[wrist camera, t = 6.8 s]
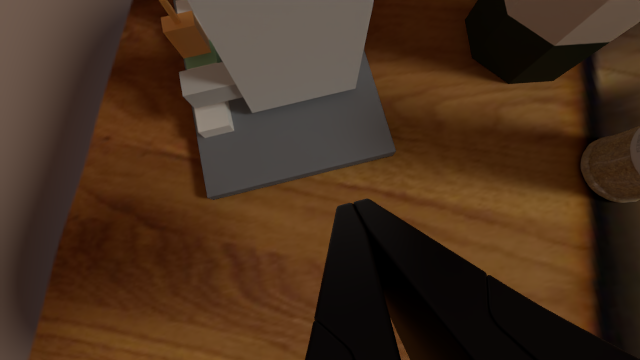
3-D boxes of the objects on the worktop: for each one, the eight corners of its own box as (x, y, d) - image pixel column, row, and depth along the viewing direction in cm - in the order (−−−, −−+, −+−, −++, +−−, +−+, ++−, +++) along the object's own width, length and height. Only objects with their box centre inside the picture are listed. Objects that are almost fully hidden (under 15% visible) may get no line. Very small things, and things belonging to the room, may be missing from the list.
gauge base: (392, 155, 20) (494, 33, 8) (213, 199, 19) (39, 140, 7) (330, -43, 23) (337, -338, 11) (176, -9, 23) (14, -278, 11)
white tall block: (355, 88, 19) (388, -70, 9) (207, 123, 19) (79, -2, 9) (347, 62, 19) (371, -116, 10) (202, 96, 19) (74, -53, 9)
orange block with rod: (211, 52, 18) (176, -4, 14) (183, 58, 18) (140, 4, 14) (208, 39, 19) (173, -21, 14) (181, 45, 19) (138, -13, 14)
